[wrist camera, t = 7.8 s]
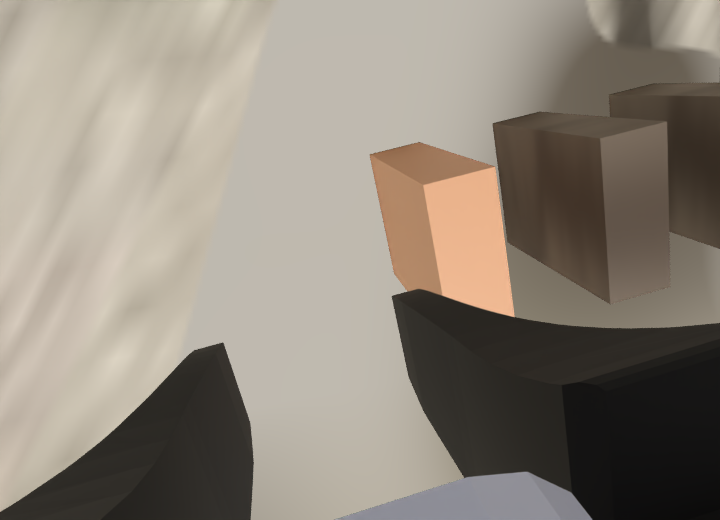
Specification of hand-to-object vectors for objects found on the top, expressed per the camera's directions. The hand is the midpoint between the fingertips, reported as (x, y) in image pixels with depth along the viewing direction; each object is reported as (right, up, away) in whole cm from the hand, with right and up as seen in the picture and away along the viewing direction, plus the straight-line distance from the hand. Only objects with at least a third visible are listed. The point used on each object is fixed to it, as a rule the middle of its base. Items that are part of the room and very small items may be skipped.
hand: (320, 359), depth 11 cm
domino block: (+7, +5, +11) cm, 14 cm away
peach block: (+3, +4, +10) cm, 11 cm away
